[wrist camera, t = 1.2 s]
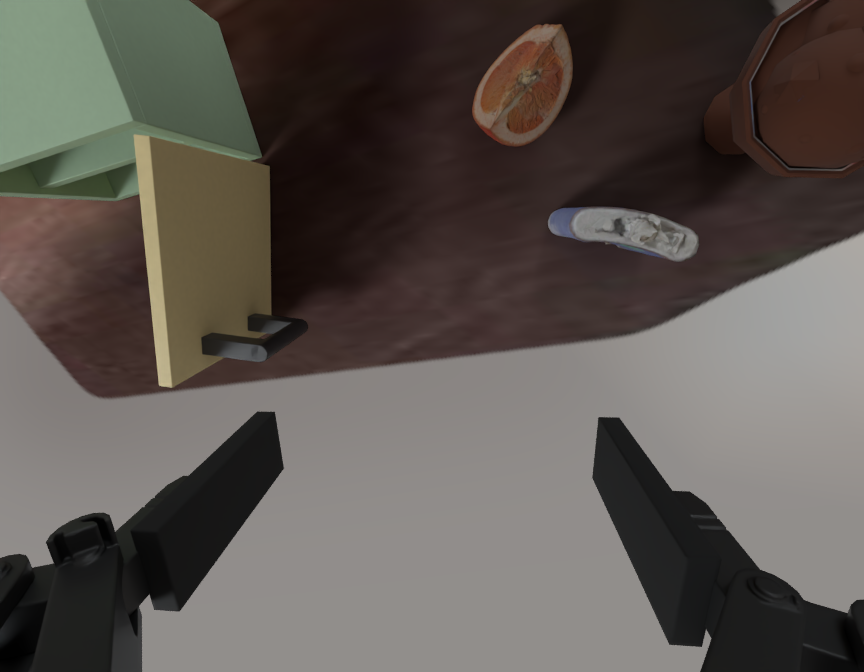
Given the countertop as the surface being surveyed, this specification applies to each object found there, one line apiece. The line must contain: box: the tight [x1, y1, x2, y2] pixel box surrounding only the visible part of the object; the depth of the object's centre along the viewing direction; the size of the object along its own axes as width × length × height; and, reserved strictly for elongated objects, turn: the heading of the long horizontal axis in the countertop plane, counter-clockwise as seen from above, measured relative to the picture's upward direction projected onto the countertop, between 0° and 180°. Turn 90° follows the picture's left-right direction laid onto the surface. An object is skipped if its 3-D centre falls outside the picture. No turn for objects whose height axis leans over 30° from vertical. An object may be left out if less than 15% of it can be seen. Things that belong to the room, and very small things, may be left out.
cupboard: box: [0, 0, 262, 201], centre depth 30 cm, size 11×16×15 cm
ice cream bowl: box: [703, 0, 864, 178], centre depth 26 cm, size 11×11×15 cm
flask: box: [548, 207, 699, 262], centre depth 31 cm, size 9×3×11 cm, turn 78°
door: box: [134, 134, 308, 387], centre depth 32 cm, size 6×16×15 cm, turn 174°
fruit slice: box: [472, 24, 573, 147], centre depth 32 cm, size 8×7×5 cm
